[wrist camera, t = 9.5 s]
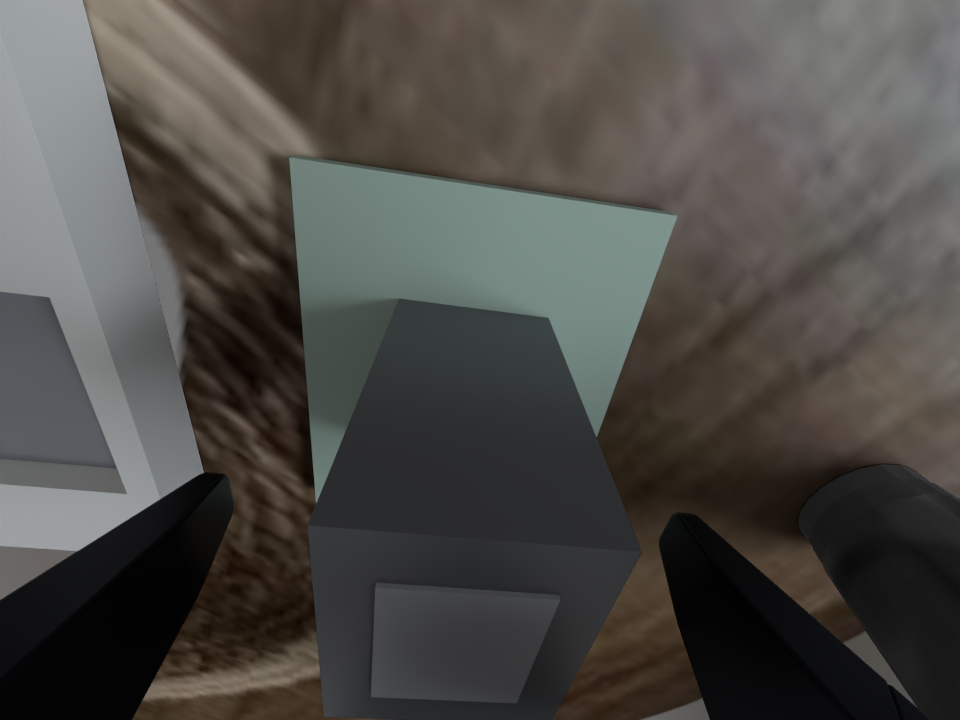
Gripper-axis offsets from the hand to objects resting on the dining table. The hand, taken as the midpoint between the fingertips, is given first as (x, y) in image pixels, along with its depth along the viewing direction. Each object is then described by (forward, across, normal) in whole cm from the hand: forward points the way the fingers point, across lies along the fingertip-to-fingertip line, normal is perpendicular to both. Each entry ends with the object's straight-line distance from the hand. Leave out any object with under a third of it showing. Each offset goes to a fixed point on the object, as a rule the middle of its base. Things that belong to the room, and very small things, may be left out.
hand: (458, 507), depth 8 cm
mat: (+5, 0, 0) cm, 5 cm away
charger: (+4, 0, 0) cm, 4 cm away
